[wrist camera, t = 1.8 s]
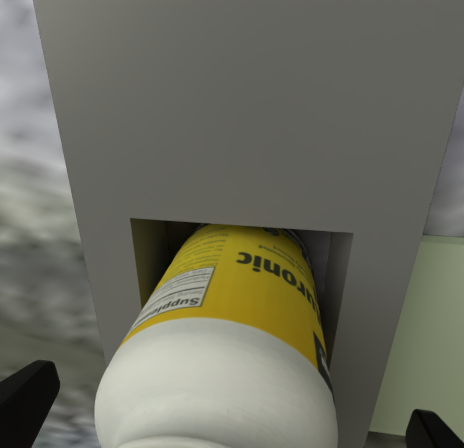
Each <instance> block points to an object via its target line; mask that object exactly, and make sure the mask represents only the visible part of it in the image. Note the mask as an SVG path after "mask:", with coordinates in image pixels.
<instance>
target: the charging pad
mask: <svg viewBox="0 0 464 448" xmlns="http://www.w3.org/2000/svg"><path fill="white" fill-rule="evenodd" d="M415 409H423V410H430V411H433V412H435V413H436V414H437V415H438V416H439V417H440V418H441V419H442V420H443V421H444V422H445V423H446V424H447V425H448V426H449V427H450V428H451V429H452V430H453V432H454V433H455V434H456V435H457V436H458V437H459V438H460V439H461V440H462V441H463V442H464V238H460V237H445V236H430V235H422V238H421V241H420V245H419V249H418V252H417V256H416V260H415V263H414V267H413V271H412V274H411V278H410V282H409V285H408V289H407V293H406V296H405V300H404V303H403V307H402V311H401V314H400V318H399V322H398V325H397V329H396V333H395V336H394V340H393V344H392V347H391V351H390V355H389V358H388V362H387V366H386V369H385V373H384V377H383V380H382V384H381V388H380V391H379V395H378V398H377V402H376V406H375V409H374V413H373V417H372V420H371V424H370V428H369V431H373V432H380V433H387V434H394V435H401V436H405V433H406V429H407V426H408V423H409V420H410V417H411V414H412V412H413V410H415Z"/></svg>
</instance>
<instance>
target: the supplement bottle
mask: <svg viewBox="0 0 464 448" xmlns="http://www.w3.org/2000/svg"><path fill="white" fill-rule="evenodd" d="M95 427H96V431H97V436H98V439H99V442H100V445H101V447H102V448H337V444H338V427H337V419H336V409H335V401H334V395H333V389H332V384H331V379H330V373H329V368H328V361H327V355H326V348H325V343H324V338H323V330H322V325H321V318H320V312H319V307H318V300H317V294H316V288H315V282H314V274H313V270H312V266H311V262H310V259H309V255H308V253H307V251H306V249H305V247H304V245H303V244H302V242H301V241H300V239H299V238H298V237H297V236H296V234H295V233H294V232H293V231H292V230H290V229H287V228H272V227H257V226H242V225H227V224H212V223H202V224H201V225H200V226H199V227H197V228H196V229H195V230H194V231H193V232H192V233H191V234H190V236H189V237H188V238H187V239H186V241H185V242H184V243H183V245H182V247H181V248H180V250H179V252H178V253H177V255H176V256H175V258H174V260H173V261H172V263H171V265H170V266H169V268H168V269H167V271H166V273H165V274H164V276H163V277H162V279H161V281H160V282H159V284H158V285H157V287H156V289H155V290H154V292H153V293H152V295H151V297H150V298H149V300H148V302H147V303H146V305H145V306H144V308H143V309H142V311H141V313H140V314H139V316H138V318H137V320H136V321H135V323H134V324H133V326H132V327H131V329H130V331H129V332H128V334H127V336H126V337H125V338H124V340H123V342H122V343H121V345H120V346H119V348H118V350H117V351H116V353H115V355H114V356H113V358H112V360H111V362H110V364H109V366H108V367H107V369H106V371H105V373H104V375H103V377H102V380H101V382H100V385H99V388H98V391H97V395H96V401H95Z"/></svg>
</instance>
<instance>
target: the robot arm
mask: <svg viewBox="0 0 464 448" xmlns="http://www.w3.org/2000/svg"><path fill="white" fill-rule="evenodd" d="M59 389H60V381H59V377H58V374H57V370H56V367H55V364H54V363H53V362H52V361H46V360H37V361H34V362H33V363H31V364H29V365H28V366H26V367H24V368H23V369H21V370H19V371H18V372H16V373H14V374H13V375H11V376H9V377H8V378H6V379H4V380H3V381H1V382H0V448H31V447H32V445H33V443H34V441H35V439H36V437H37V435H38V433H39V431H40V429H41V427H42V425H43V423H44V421H45V419H46V417H47V415H48V413H49V411H50V409H51V407H52V405H53V403H54V401H55V398H56V396H57V394H58V392H59ZM405 439H406V445H407V448H464V442H463V441H462V440H461V439H460V438H459V437H458V436H457V435H456V434H455V433H454V432H453V430H452V429H451V428H450V427H449V426H448V425H447V424H446V423H445V422H444V421H443V420H442V419H441V418H440V417H439V416H438V415H437V414H436V413H435V412H433V411H430V410H423V409H415V410H413V412H412V414H411V417H410V420H409V423H408V426H407V429H406V433H405Z"/></svg>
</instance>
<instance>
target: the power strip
mask: <svg viewBox="0 0 464 448" xmlns="http://www.w3.org/2000/svg"><path fill="white" fill-rule="evenodd" d="M33 4H34V9H35V14H36V19H37V24H38V29H39V34H40V39H41V44H42V49H43V54H44V58H45V63H46V68H47V73H48V78H49V83H50V88H51V93H52V98H53V103H54V108H55V113H56V118H57V123H58V128H59V133H60V138H61V143H62V148H63V153H64V158H65V163H66V168H67V173H68V178H69V183H70V188H71V193H72V197H73V202H74V207H75V212H76V217H77V222H78V227H79V232H80V237H81V242H82V247H83V252H84V257H85V262H86V267H87V272H88V277H89V282H90V287H91V292H92V297H93V302H94V307H95V312H96V317H97V322H98V327H99V332H100V337H101V341H102V346H103V351H104V356H105V361H106V366H107V367H108V366H109V364H110V362H111V360H112V358H113V356H114V355H115V353H116V351H117V350H118V348H119V346H120V345H121V343H122V342H123V340H124V338H125V337H126V336H127V334H128V332H129V331H130V329H131V327H132V326H133V324H134V323H135V321H136V320H137V318H138V316H139V314H140V313H141V311H142V309H143V308H144V306H145V305H146V303H147V302H148V300H149V298H150V297H151V295H152V293H153V292H154V290H155V289H156V287H157V285H158V284H159V282H160V281H161V279H162V277H163V276H164V274H165V273H166V271H167V269H168V268H169V266H170V265H169V253H168V240H167V228H166V220H167V221H182V222H197V223H212V224H227V225H242V226H257V227H272V228H287V229H302V230H317V231H332V237H331V244H330V251H329V257H328V264H327V271H326V278H325V284H324V291H323V298H322V305H321V311H320V318H321V325H322V330H323V338H324V343H325V348H326V355H327V361H328V368H329V373H330V379H331V384H332V389H333V395H334V401H335V409H336V419H337V427H338V444H337V448H364V446H365V442H366V439H367V435H368V431H369V428H370V424H371V420H372V417H373V413H374V409H375V406H376V402H377V398H378V395H379V391H380V388H381V384H382V380H383V377H384V373H385V369H386V366H387V362H388V358H389V355H390V351H391V347H392V344H393V340H394V336H395V333H396V329H397V325H398V322H399V318H400V314H401V311H402V307H403V303H404V300H405V296H406V293H407V289H408V285H409V282H410V278H411V274H412V271H413V267H414V263H415V260H416V256H417V252H418V249H419V245H420V241H421V238H422V234H423V230H424V227H425V223H426V219H427V216H428V212H429V208H430V205H431V201H432V197H433V194H434V190H435V187H436V183H437V179H438V176H439V172H440V168H441V165H442V161H443V157H444V154H445V150H446V146H447V143H448V139H449V135H450V132H451V128H452V124H453V121H454V117H455V113H456V110H457V106H458V102H459V99H460V95H461V92H462V88H463V84H464V0H33Z"/></svg>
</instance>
